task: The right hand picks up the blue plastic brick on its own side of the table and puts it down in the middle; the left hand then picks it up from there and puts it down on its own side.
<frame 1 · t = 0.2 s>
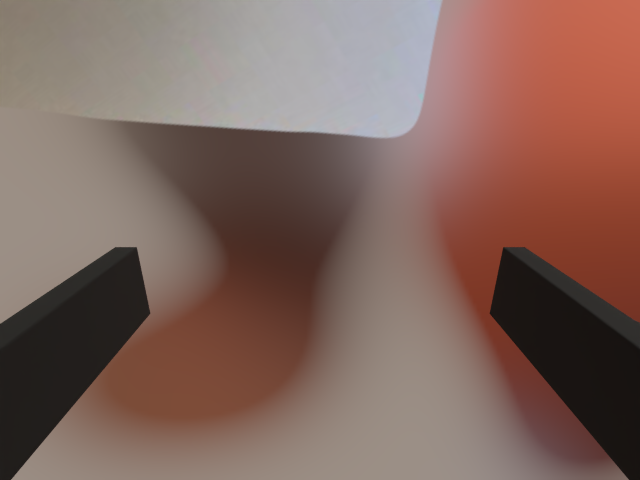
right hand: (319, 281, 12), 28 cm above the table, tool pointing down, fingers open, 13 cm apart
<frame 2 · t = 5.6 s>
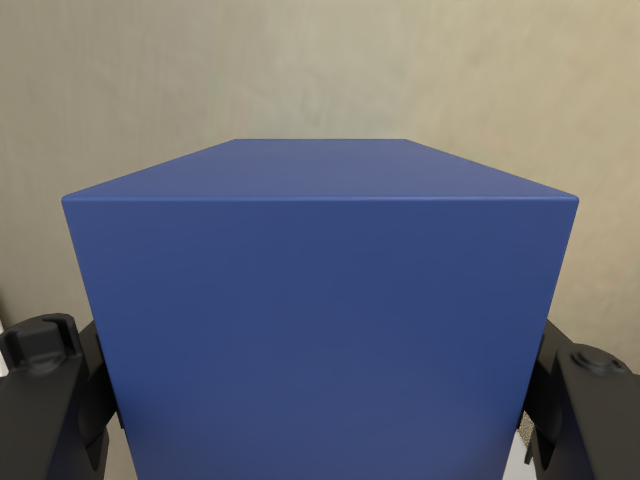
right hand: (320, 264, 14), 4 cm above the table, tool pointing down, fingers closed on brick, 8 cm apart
brick: (320, 231, 18), on the table, touching right hand
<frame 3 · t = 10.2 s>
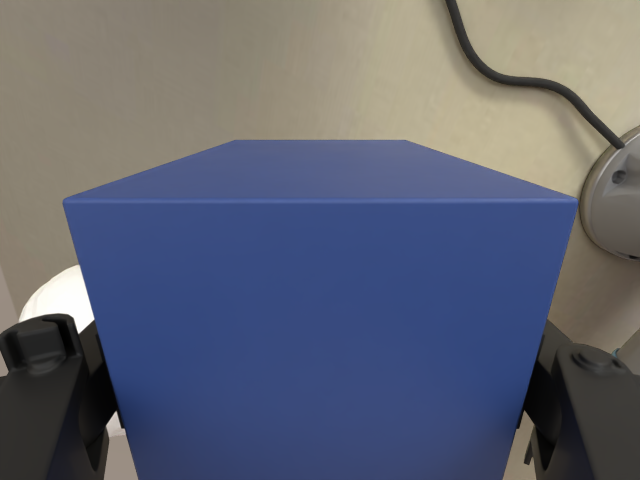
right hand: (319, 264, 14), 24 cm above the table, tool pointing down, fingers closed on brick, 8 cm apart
skull: (168, 313, 43), on the table
brick: (320, 232, 18), point 20 cm above the table, touching right hand
when the right hand's fingers open (5 cm above the table, at t = 14.6 s): brick drops 1 cm, on the table.
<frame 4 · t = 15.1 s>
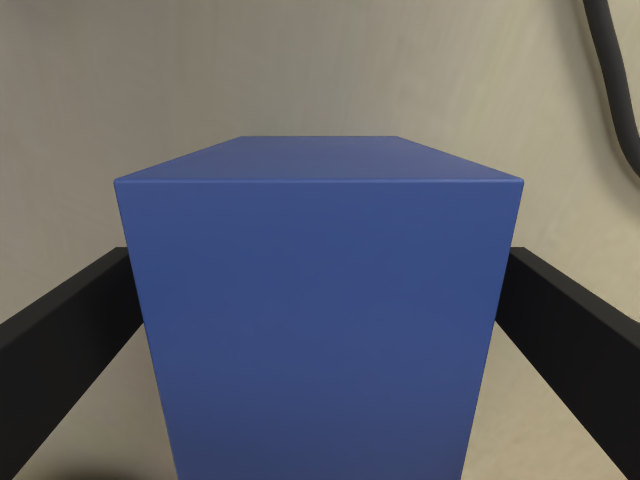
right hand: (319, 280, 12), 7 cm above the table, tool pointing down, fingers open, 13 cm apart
brick: (319, 222, 19), on the table
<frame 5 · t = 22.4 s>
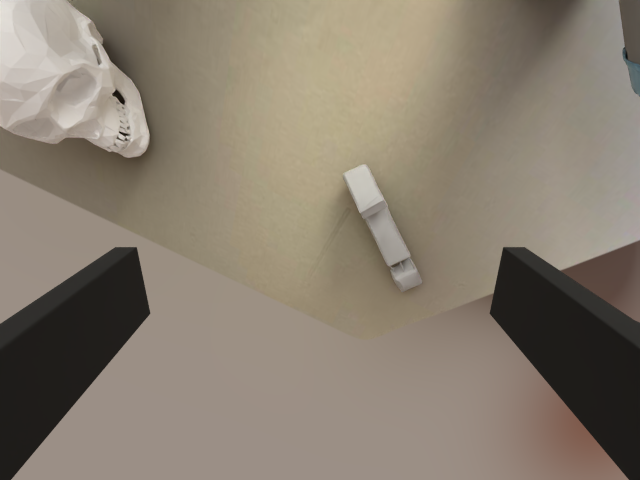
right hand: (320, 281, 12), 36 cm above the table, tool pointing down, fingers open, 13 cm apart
skull: (87, 79, 43), on the table
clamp: (381, 227, 50), on the table
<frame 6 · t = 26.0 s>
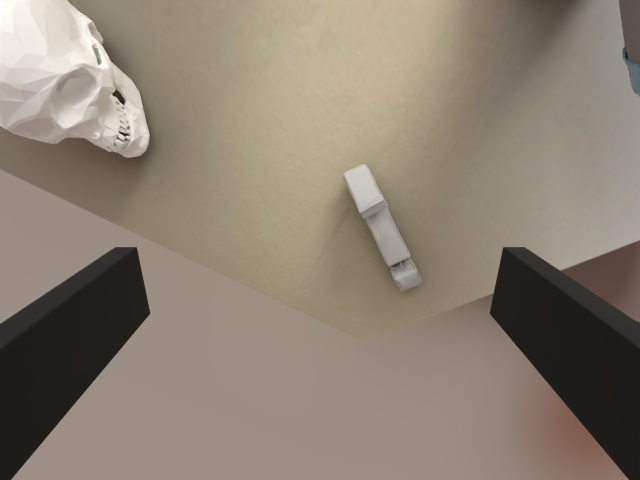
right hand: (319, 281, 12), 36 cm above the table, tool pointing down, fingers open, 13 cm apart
skull: (87, 79, 43), on the table
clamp: (381, 227, 50), on the table
when the left hand's fingers open (5 cm above the table, at t = 30.0 s): brick drops 1 cm, on the table.
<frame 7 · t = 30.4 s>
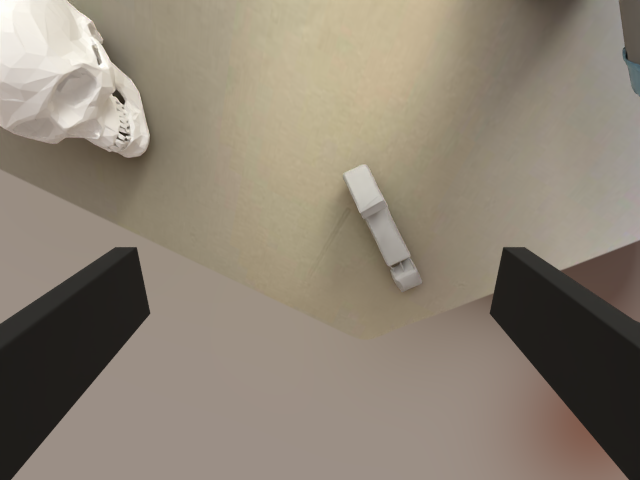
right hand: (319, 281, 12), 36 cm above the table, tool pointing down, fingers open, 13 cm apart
skull: (87, 79, 43), on the table
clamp: (381, 227, 50), on the table
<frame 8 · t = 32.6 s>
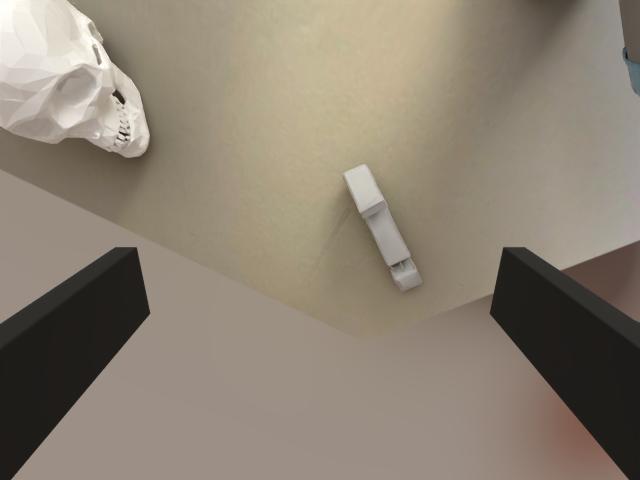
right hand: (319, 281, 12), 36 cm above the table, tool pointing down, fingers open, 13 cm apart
skull: (87, 79, 43), on the table
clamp: (381, 227, 50), on the table
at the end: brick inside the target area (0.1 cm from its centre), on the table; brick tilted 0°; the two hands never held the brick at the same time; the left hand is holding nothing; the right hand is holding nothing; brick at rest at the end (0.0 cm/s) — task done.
